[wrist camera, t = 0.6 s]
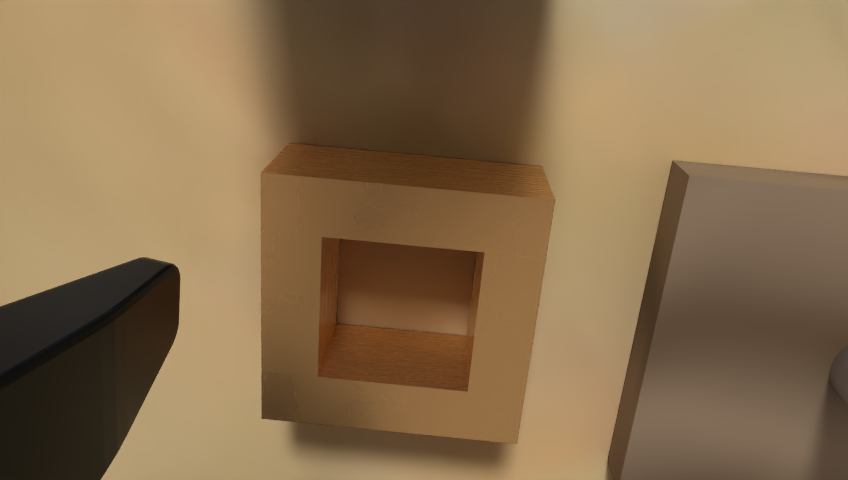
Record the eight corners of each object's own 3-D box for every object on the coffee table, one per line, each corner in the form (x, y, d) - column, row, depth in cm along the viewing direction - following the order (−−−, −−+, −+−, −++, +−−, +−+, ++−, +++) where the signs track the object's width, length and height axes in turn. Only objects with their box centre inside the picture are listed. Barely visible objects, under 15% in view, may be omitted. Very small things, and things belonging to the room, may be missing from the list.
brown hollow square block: (509, 383, 22) (517, 444, 19) (287, 361, 22) (261, 418, 19) (541, 166, 19) (555, 199, 17) (289, 143, 19) (260, 172, 17)
